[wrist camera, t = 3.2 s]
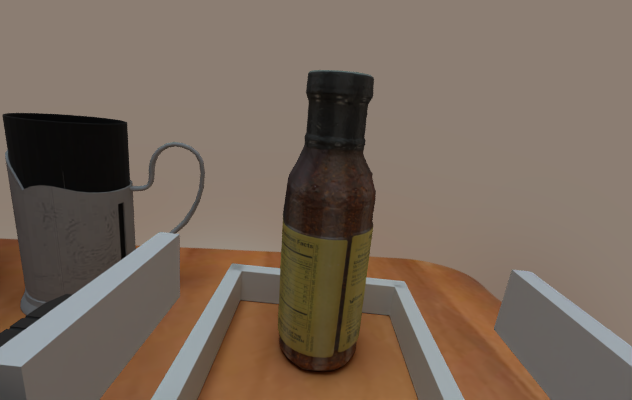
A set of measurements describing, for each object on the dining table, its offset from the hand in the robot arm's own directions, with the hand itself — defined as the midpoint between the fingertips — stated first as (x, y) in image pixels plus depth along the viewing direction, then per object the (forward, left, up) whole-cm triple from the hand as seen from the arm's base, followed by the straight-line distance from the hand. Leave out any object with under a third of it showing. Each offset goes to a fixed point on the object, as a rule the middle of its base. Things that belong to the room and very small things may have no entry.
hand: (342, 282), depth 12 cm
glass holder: (-18, +14, -11) cm, 26 cm away
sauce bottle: (0, +9, -11) cm, 15 cm away
